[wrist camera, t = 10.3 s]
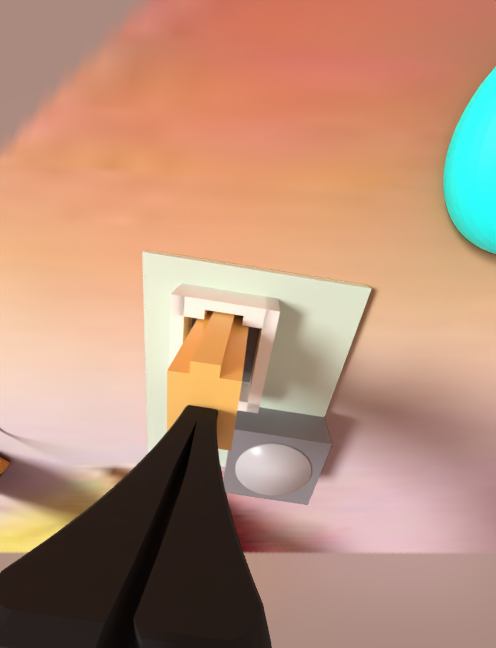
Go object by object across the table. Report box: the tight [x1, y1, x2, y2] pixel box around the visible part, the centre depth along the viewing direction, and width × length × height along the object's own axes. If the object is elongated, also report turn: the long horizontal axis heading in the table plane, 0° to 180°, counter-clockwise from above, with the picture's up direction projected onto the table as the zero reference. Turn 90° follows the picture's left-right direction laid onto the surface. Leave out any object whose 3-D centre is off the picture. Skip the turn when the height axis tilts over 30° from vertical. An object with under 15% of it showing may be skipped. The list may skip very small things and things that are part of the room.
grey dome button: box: [223, 407, 332, 505], centre depth 20 cm, size 7×7×3 cm
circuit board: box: [142, 250, 372, 467], centre depth 20 cm, size 18×14×1 cm
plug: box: [167, 310, 249, 451], centre depth 14 cm, size 5×3×7 cm, turn 172°
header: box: [169, 283, 280, 413], centre depth 17 cm, size 8×6×2 cm
